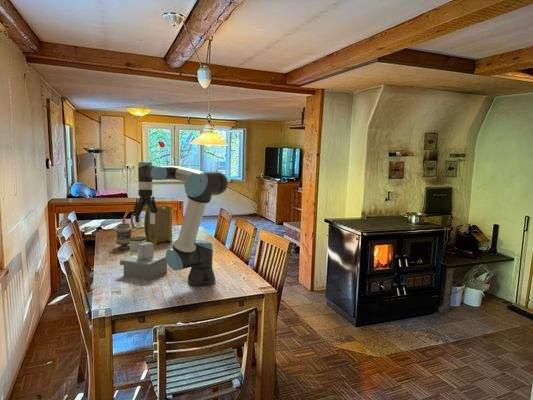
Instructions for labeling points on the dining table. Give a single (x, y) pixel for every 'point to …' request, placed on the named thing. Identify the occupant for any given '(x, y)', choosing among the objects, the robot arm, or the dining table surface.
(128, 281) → the dining table surface
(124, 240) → the apothecary jar
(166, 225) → the decorative book
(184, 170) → the robot arm
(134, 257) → the lid
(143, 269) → the crate
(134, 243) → the coffee can
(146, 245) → the medicine box
